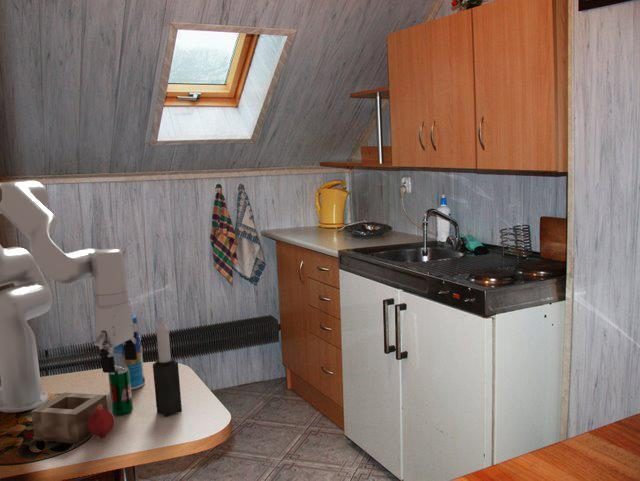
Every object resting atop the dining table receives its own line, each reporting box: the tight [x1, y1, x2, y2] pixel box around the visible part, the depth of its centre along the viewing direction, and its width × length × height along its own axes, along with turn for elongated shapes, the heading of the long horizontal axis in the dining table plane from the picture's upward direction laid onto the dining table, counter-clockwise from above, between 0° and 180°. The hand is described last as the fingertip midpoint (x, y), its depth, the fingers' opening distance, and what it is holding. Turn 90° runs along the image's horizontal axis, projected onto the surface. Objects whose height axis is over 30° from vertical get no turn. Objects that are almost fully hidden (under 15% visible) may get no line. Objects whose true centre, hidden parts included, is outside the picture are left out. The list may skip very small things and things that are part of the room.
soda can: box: [107, 365, 134, 417], centre depth 168 cm, size 5×5×12 cm
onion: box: [88, 405, 115, 439], centre depth 153 cm, size 6×6×8 cm
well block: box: [30, 391, 109, 445], centre depth 158 cm, size 12×12×7 cm
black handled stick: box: [152, 315, 183, 418], centre depth 166 cm, size 5×5×25 cm
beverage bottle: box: [112, 314, 146, 391], centre depth 187 cm, size 8×8×20 cm
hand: (120, 365), depth 166 cm, fingers open, 9 cm apart
